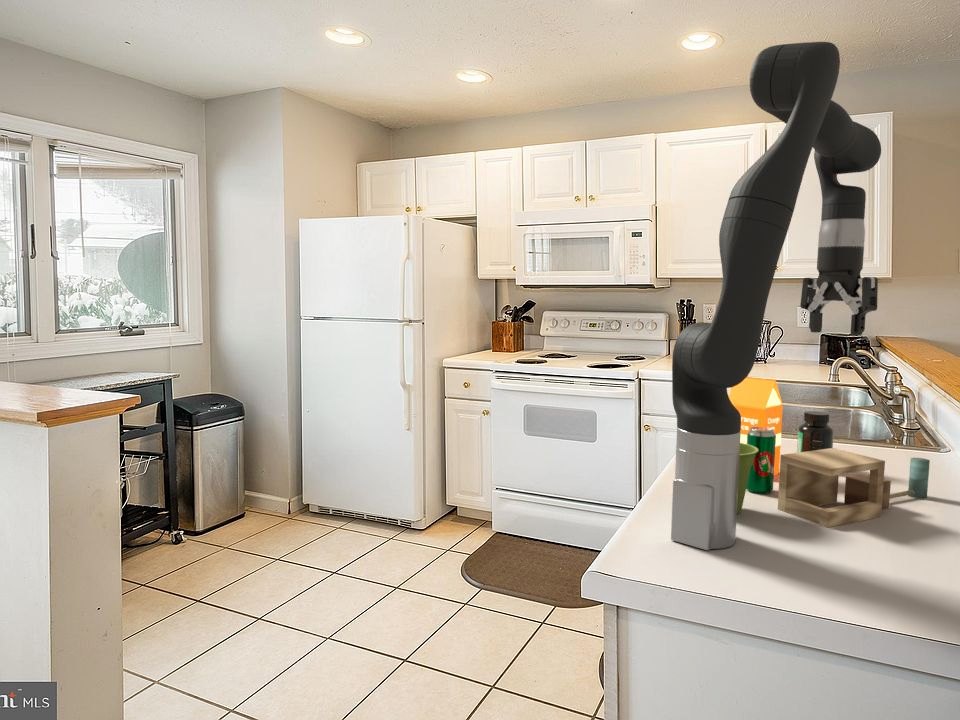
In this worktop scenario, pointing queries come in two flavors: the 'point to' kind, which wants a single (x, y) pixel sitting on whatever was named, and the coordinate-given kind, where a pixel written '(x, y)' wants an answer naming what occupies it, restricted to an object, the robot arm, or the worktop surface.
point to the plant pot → (744, 471)
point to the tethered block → (889, 485)
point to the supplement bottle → (815, 432)
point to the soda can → (762, 460)
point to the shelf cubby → (827, 486)
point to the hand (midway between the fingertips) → (835, 333)
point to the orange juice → (759, 408)
